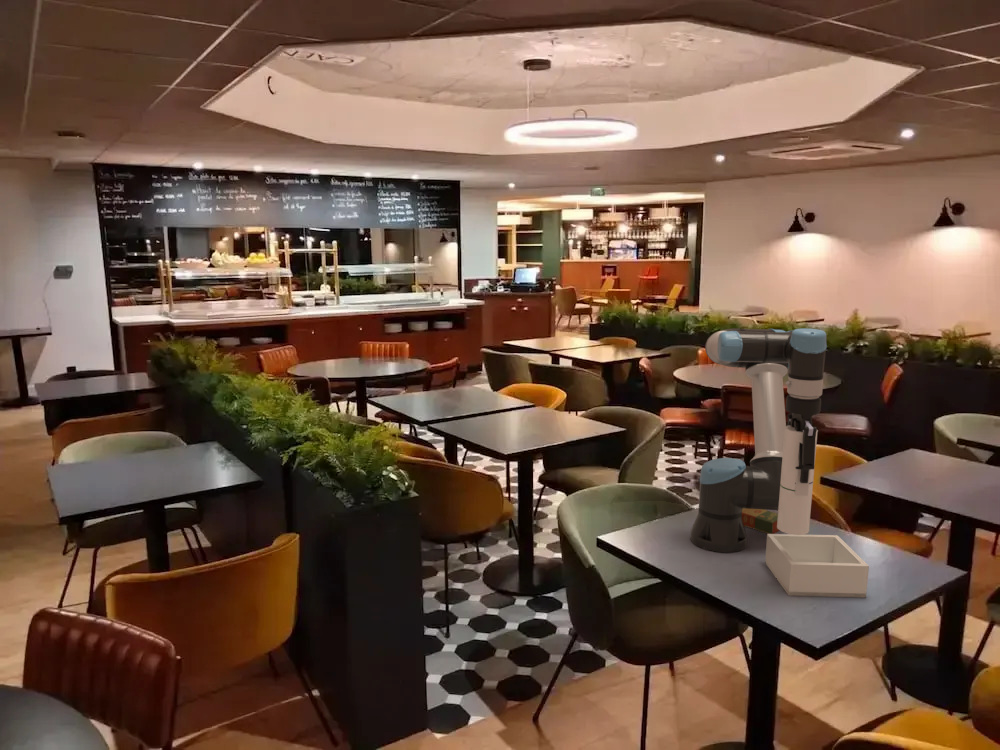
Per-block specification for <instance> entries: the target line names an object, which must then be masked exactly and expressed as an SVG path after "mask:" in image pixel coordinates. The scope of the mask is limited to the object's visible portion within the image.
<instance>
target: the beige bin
mask: <svg viewBox="0 0 1000 750" xmlns="http://www.w3.org/2000/svg"><path fill="white" fill-rule="evenodd" d="M766 534H767V535H766V546H765V547H766V548H765V559H764V561H765V562H764V563H765V565H766V566H767V567H768V569H769V570H770V571H771V573H772V575H773V576H774V577H775V579H776V578H777V579H776V581H778V583H779V584H780V586H781V587H782V588H783V591H785V593H786V594H787V595H788V597H789V596H790V597H791V596H792V597H794V596H795V597H824V598H825V597H828V598H829V597H831V598H865V599H866V598H867V589H868V581H869V580H868V578H869V571H870V570H869V569H870V565H869V564H868V563H866V562H865V561H864V559H863V558H861V556H859V555H858V554H857V552H856V551H854V549H852V548H851V547H850V546H849V545H848V544H847V543H846V542H845V541H844V540H843V539H842V538H841V537H840V536H839V535H836V534H833V535H832V534H804V535H792V534H788V533H775V534H768V533H766Z"/></svg>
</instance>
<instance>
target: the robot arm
mask: <svg viewBox="0 0 1000 750" xmlns="http://www.w3.org/2000/svg"><path fill="white" fill-rule="evenodd" d="M827 346H828V345H827V333H826V332H825V330H823V329H817V328H806V327H805V328H795V329H793V330H788V331H785V330H783V329H774V328H768V329H767V328H765V329H764V328H761V329H759V328H754V329H753V328H726V329H722V330H719V331H716V332H714V333H712V334H711V335H710V336H709V337H708V338H707V340H706V342H705V346H704V348H705V353H706V355H707V357H708V358H709V360H710V361H712V362H713V363H715V364H717V365H720V366H724V367H730V368H738V369H739V368H743V369H745V376H747V377H748V378H749V379H751V392H752V393H751V398H752V413H753V414H752V415H753V434H754V435H753V436H754V452H755V453H754V456H753V458H751V459H750V461H749V465H746V463H745V461H743V460H742V459H738V458H733V457H719V458H715V459H711V460H709V461H706V462H705V463H703V465H702V466H701V468H700V474H699V475H700V476H699V494H698V495H699V496H698V511H697V512H698V513H697V515H696V517H695V520H694V522H693V525H692V527H691V530H690V541H691V542H692V543H693V544H694V545H695V546H697V547H699V548H701V549H703V550H704V549H705V550H707V551H713V552H718V553H736V552H739V551H743V550H745V548H746V547H747V542H748V541H747V540H748V537H747V533H746V529H745V526H744V525H743V521H742V509H743V508H748V509H764V510H767V511H777V512H778V507H779V495H780V482H781V469H782V456H783V444H784V431H785V426H788V425H791V427H794V428H795V430H796V431H800V432H803V443H800V444H799V456H798V457H799V467H796V469H797V474H796V486H795V495H797V496H808V488H809V476H810V470H811V469H814V470H815V466H814V461H815V462H816V455H815V437H816V432H817V430H818V428H817V426H814V422H813V418H812V417H813V416H814V415H818V414H820V412H821V407H822V399H821V396H822V395H823V388H824V373H825V371H824V370H825V363H826V362H825V361H826V351H827V348H828V347H827ZM787 374H788V375H787ZM786 375H787V381H785V385H786V386H787V388H786V389H787V390H786V392H787V393H788V394H787V396H786V397H785V393H784V377H785V376H786ZM785 398H786V399H785ZM786 411H787V412H788V413H787V421H786ZM786 422H787V423H786ZM817 433H818V432H817Z"/></svg>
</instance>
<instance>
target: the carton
mask: <svg viewBox="0 0 1000 750" xmlns="http://www.w3.org/2000/svg"><path fill="white" fill-rule="evenodd" d="M777 520H778V512H777V513H776V512H774V511H772V510H764V509H748V508H743V509H742V521H743V525H744V527H746V526H747V527H746V528H749V527H750V529H752V528H754V529H753V530H755V529H756V531H759V532H762V533H766V534H774V533H775V534H777V533H778V532H780V531H779V529H778V528H777Z"/></svg>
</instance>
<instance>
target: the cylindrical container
mask: <svg viewBox="0 0 1000 750" xmlns="http://www.w3.org/2000/svg"><path fill="white" fill-rule="evenodd" d="M787 425H788V424H787ZM787 425H786V426H785V431H784V444H783V456H782V469H781V482H780V495H779V507H778V511H777V514H778V520H777V528H778V529H779V530H780V531H779V532H782V533H783V534H792V535H808V533H810V521H811V511H812V510H811V509H812V501H813V486H814V477H815V468H814V469H811V470H810V476H809V488H808V496H797V495H795V486H796V474H797V469H796V467H799V457H798V456H799V444H800V443H803V432H800V431H796V430H795V428H794V427H791V425H788V426H787ZM818 432H819V430H818V429H817V432H816V437H815V456H816V455H817V454H816V452H817V442H818ZM815 462H816V460H815V461H814V467H815V464H816V463H815Z"/></svg>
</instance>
